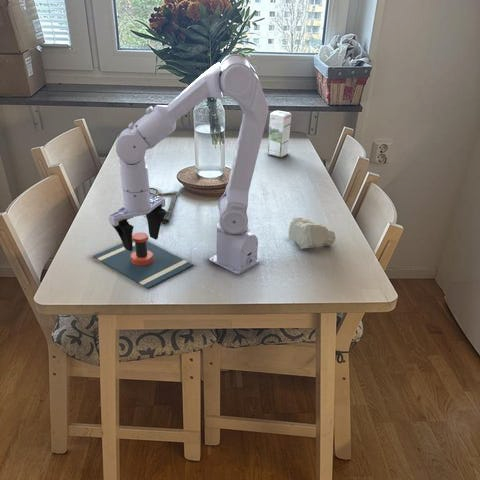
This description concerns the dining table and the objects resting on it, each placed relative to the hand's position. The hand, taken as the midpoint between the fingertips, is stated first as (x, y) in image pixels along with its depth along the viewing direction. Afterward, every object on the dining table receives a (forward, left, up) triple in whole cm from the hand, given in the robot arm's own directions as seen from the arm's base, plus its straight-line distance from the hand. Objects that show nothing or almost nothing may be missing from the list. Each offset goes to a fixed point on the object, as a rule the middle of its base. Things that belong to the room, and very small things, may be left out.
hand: (141, 243), depth 118 cm
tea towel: (0, 0, -5) cm, 5 cm away
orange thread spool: (0, 0, -5) cm, 5 cm away
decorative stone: (-24, -36, -5) cm, 43 cm away
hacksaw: (+21, -23, -5) cm, 32 cm away
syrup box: (+24, -84, -5) cm, 87 cm away
